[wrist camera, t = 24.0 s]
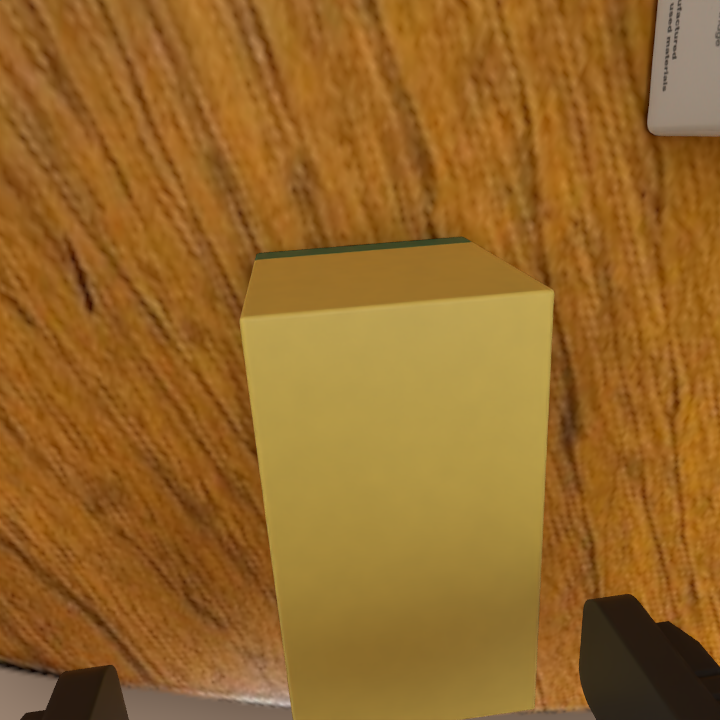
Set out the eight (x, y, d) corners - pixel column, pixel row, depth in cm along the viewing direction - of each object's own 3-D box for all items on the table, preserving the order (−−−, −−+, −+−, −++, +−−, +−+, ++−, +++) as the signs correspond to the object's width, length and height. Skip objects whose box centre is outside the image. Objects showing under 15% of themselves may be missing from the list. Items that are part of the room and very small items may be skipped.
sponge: (255, 252, 15) (238, 317, 10) (464, 235, 15) (556, 289, 10) (293, 568, 18) (296, 745, 13) (465, 547, 18) (536, 710, 13)
